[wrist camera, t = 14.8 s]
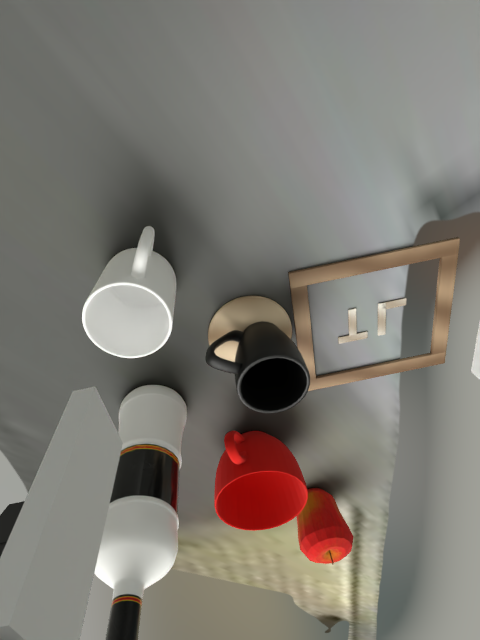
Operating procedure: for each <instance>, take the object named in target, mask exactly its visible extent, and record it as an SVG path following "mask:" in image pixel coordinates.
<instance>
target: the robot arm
mask: <svg viewBox="0 0 480 640" xmlns="http://www.w3.org/2000/svg"><path fill="white" fill-rule="evenodd" d="M471 372H472V373H473V374H474V375H475V376H476V377H477V378H478V379H479V380H480V323H479V328H478V334H477V340H476V346H475V352H474V357H473V364H472V369H471ZM122 445H123V442H122V440H121V438H120V436H119V434H118V432H117V430H116V428H115V426H114V424H113V422H112V420H111V418H110V416H109V414H108V412H107V410H106V408H105V406H104V403H103V401H102V399H101V397H100V395H99V393H98V391H97V389H96V387H91V388H86V389H81V390H76V391H73V392H72V394H71V396H70V399H69V401H68V403H67V406H66V408H65V410H64V412H63V415H62V417H61V419H60V422H59V424H58V426H57V428H56V431H55V433H54V435H53V438H52V440H51V442H50V445H49V447H48V449H47V451H46V454H45V456H44V458H43V461H42V463H41V465H40V467H39V470H38V472H37V474H36V477H35V479H34V481H33V484H32V486H31V488H30V490H29V493H28V495H27V497H26V500H25V501H24V502H19V503H14V504H9V505H8V506H7V508H6V509H5V510H4V511H3V513H2V514H1V515H0V640H80V636H81V631H82V626H83V622H84V617H85V613H86V608H87V604H88V599H89V595H90V590H91V585H92V581H93V576H94V572H95V567H96V563H97V558H98V554H99V549H100V545H101V540H102V536H103V531H104V526H105V522H106V517H107V513H108V508H109V504H110V499H111V495H112V490H113V485H114V481H115V476H116V472H117V467H118V463H119V458H120V454H121V449H122Z"/></svg>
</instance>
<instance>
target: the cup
mask: <svg viewBox="0 0 480 640" xmlns="http://www.w3.org/2000/svg"><path fill="white" fill-rule="evenodd" d="M154 236H155V231H154V229H153V227H151V226H147V227H145V228H144V230H143V232H142V235H141V237H140V240H139V243H138V246H137V248H131V249H127V250H124V251H121V252H119V253H118V254H116V255H115V256H114V257H113V258H112V259H111V260H110V261H109V262H108V264H107V265H106V267H105V269H104V271H103V272H102V274H101V276H100V278H99V279H98V281H97V283H96V285H95V286H94V288H93V290H92V292H91V293H90V295H89V297H88V299H87V300H86V302H85V304H84V307H83V311H82V322H83V326H84V329H85V331H86V333H87V335H88V336H89V338H90V339H91V340H92V342H93V343H94V344H95V345H97V346H98V347H99V348H100V349H102V350H104V351H105V352H107V353H109V354H112V355H115V356H119V357H124V358H138V357H143V356H147V355H149V354H152V353H154V352H155V351H157V350H158V349H160V348H161V347H162V346H163V345H164V344H165V343H166V341H167V340H168V338H169V336H170V334H171V330H172V323H173V314H174V306H175V297H176V286H177V285H176V276H175V273H174V270H173V268H172V267H171V265H170V264H169V262H168V261H167V260H166V259H165V258H164V257H163V256H161V255H160V254H158V253H156V252H154V251H152V250H153V244H154Z"/></svg>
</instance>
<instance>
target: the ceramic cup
mask: <svg viewBox="0 0 480 640" xmlns="http://www.w3.org/2000/svg"><path fill="white" fill-rule="evenodd" d="M224 442H225V447H226V450H225V451H224V453H223V454H222V456H221V459H220V462H219V464H218V468H217V472H216V479H215V501H214V502H215V509H216V513H217V514H218V516H219V518H220V519H221V520H222V521H224V522H225V523H226V524H228V525H230V526H232V527H235V528H238V529H243V530H264V529H270V528H274V527H277V526H280V525H282V524H284V523H287V522H288V521H290V520H292V519H293V518H294V517H296V516H297V515H298V514H299V513H300V512H301V511H302V510H303V508H304V507H305V505H306V503H307V499H308V490H307V486H306V483H305V480H304V478H303V475H302V472H301V470H300V467H299V465H298V463H297V461H296V459H295V457H294V456H293V454H292V453H291V452H290V450H289V449H288V448H287V446H286V445H285V444H283V443H282V442H281V441H280V440H278V439H277V438H275V437H273V436H271V435H269V434H267V433H265V432H261V431H249V432H245V433H243V434H240V433H239V432H237V431H230V432H228V433H227V434H226V435H225V438H224Z"/></svg>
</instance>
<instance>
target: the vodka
mask: <svg viewBox="0 0 480 640" xmlns="http://www.w3.org/2000/svg"><path fill="white" fill-rule="evenodd" d="M186 418H187V407H186V404H185V402H184V400H183V399H182V397H181V396H180V395H179V394H178V393H177V392H176V391H174V390H173V389H171V388H168V387H166V386H162V385H145V386H141V387H139V388H136V389H134V390H133V391H131V392H130V393H129V394H128V395H127V396H126V397H125V398H124V399H123V401H122V403H121V406H120V411H119V431H118V434H119V436H120V438H121V440H122V442H123V445H122V449H121V454H120V458H119V463H118V467H117V472H116V476H115V481H114V485H113V490H112V495H111V499H110V504H109V508H108V513H107V517H106V522H105V526H104V531H103V536H102V540H101V545H100V549H99V554H98V558H97V563H96V567H95V572H94V573H95V575H96V576H97V577H98V578H99V579H101V580H102V581H103V582H105V583H106V584H107V585H109V586H110V587H111V588H113V589H114V591H113V597H112V598H113V601H112V605H111V611H110V617H109V623H108V628H107V634H106V640H138V633H139V624H140V615H141V606H142V598H143V592H144V589H145V588H147V587H149V586H150V585H152V584H153V583H155V582H157V581H158V580H160V579H161V578H162V577H164V576H165V575H166V574H167V573H168V571H169V570H170V569H171V567H172V566H173V564H174V561H175V558H176V555H177V552H178V533H177V530H178V526H179V520H178V515H177V512H178V491H179V470H180V468H181V464H182V458H181V442H182V434H183V428H184V426H185V424H186Z"/></svg>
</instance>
